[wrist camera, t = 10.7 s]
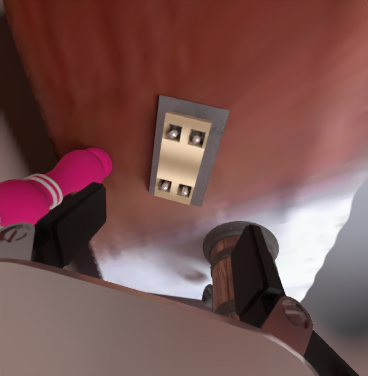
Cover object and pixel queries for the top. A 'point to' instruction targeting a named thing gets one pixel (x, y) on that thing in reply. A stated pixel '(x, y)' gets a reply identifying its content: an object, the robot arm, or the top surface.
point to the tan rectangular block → (180, 156)
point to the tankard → (227, 264)
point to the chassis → (212, 144)
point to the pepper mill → (51, 186)
